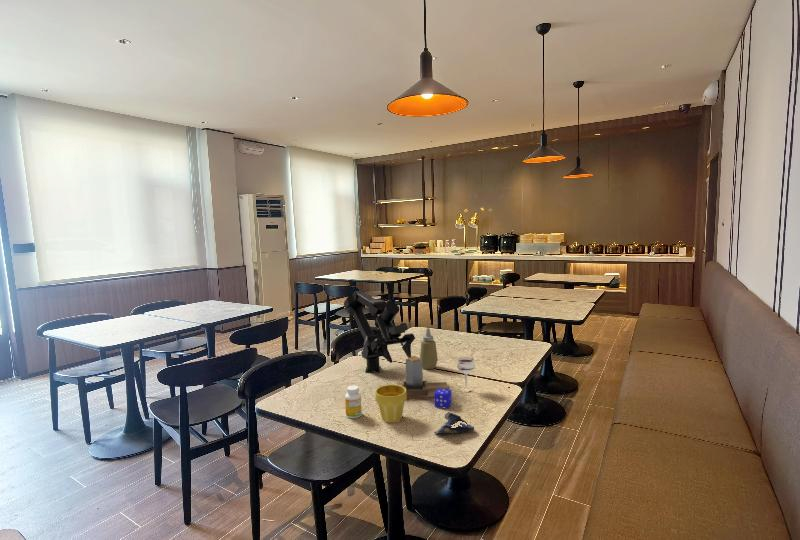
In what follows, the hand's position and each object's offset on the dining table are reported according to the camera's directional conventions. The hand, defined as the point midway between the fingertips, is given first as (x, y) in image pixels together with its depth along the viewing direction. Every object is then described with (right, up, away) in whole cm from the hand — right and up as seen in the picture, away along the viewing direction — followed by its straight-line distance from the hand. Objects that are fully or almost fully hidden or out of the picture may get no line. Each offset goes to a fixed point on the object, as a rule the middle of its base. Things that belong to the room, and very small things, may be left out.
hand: (401, 360), depth 166 cm
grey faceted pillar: (+5, -10, -6) cm, 13 cm away
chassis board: (+8, -11, -5) cm, 15 cm away
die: (+15, -12, -17) cm, 26 cm away
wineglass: (+25, -11, -4) cm, 28 cm away
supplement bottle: (-16, -14, -23) cm, 32 cm away
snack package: (+16, -14, -36) cm, 42 cm away
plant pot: (-3, -14, -27) cm, 30 cm away
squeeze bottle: (+13, -8, +23) cm, 27 cm away
